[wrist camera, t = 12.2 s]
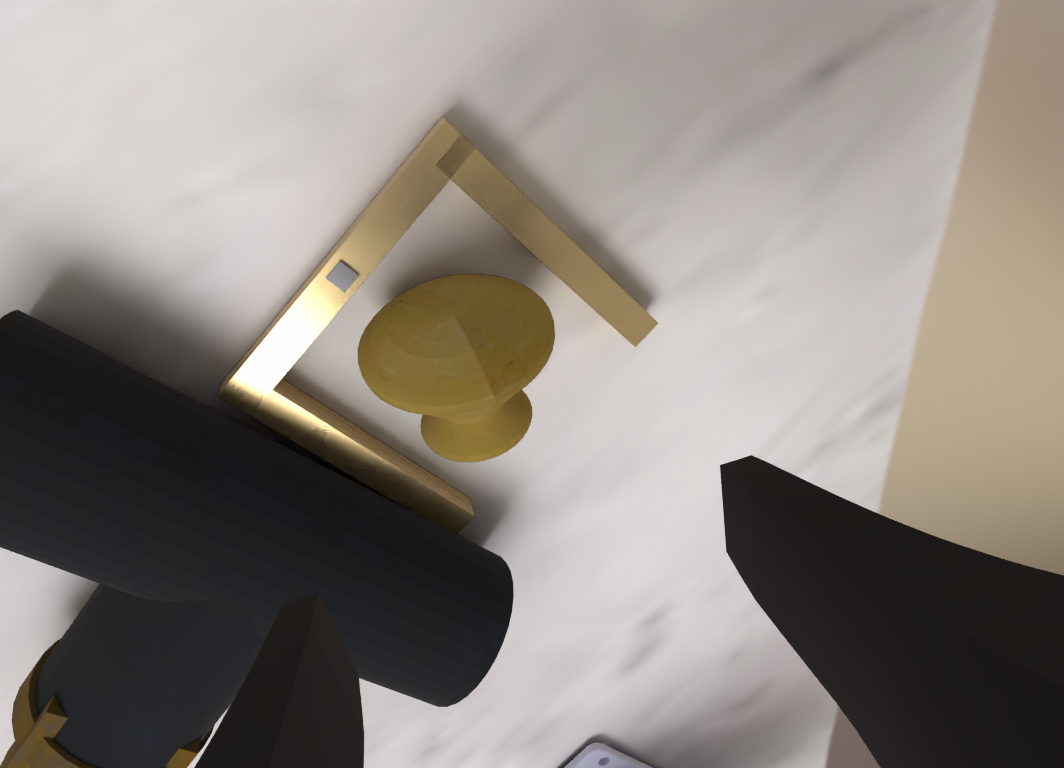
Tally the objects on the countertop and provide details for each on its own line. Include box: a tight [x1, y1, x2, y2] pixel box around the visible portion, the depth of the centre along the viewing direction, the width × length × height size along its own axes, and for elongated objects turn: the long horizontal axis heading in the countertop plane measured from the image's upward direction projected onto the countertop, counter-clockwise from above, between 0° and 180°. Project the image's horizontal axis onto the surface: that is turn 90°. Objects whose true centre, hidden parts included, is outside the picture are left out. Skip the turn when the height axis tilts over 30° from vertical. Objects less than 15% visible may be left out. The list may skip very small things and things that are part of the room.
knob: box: [358, 274, 555, 462], centre depth 18 cm, size 5×5×5 cm
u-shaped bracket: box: [218, 117, 658, 534], centre depth 20 cm, size 8×10×1 cm
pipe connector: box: [0, 310, 513, 768], centre depth 19 cm, size 12×5×15 cm
